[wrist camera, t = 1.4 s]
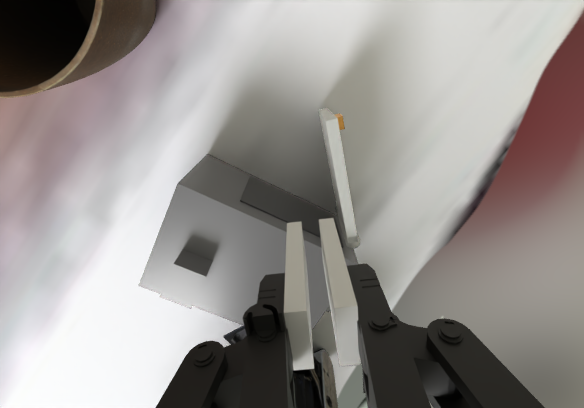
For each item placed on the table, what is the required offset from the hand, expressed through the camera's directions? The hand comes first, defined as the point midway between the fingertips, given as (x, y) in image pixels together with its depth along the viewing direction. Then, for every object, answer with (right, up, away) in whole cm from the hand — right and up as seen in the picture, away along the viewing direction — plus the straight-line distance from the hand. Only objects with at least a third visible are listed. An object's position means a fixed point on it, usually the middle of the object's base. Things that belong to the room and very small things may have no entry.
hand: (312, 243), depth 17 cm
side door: (+4, +7, +19) cm, 20 cm away
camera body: (-6, -1, +23) cm, 23 cm away
